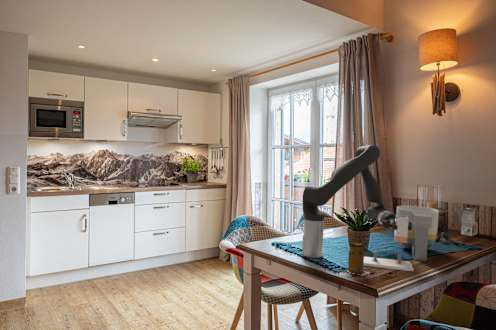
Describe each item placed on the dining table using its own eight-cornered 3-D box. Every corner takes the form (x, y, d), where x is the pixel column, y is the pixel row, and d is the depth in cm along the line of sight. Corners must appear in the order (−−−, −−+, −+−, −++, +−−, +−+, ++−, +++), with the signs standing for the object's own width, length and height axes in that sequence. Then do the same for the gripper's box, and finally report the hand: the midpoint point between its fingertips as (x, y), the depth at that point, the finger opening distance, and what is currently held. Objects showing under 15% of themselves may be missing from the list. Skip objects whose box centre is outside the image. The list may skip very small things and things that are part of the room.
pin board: (363, 265, 152) (364, 254, 152) (362, 258, 162) (363, 247, 162) (413, 271, 147) (414, 259, 147) (409, 264, 157) (409, 252, 156)
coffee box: (466, 232, 224) (467, 207, 223) (477, 234, 219) (479, 209, 218) (460, 234, 218) (462, 208, 217) (472, 236, 213) (473, 210, 212)
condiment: (351, 268, 149) (353, 240, 149) (370, 273, 143) (372, 244, 143) (343, 272, 144) (344, 243, 143) (363, 277, 138) (364, 248, 137)
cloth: (415, 239, 203) (416, 229, 203) (438, 237, 210) (439, 227, 210) (450, 250, 183) (451, 238, 182) (474, 247, 189) (475, 236, 189)
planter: (432, 257, 167) (435, 213, 166) (390, 249, 179) (392, 208, 178) (439, 249, 182) (441, 208, 181) (400, 242, 194) (402, 204, 193)
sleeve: (395, 241, 151) (396, 217, 150) (394, 239, 155) (395, 215, 155) (407, 243, 150) (408, 217, 149) (405, 240, 154) (406, 215, 154)
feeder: (412, 260, 162) (415, 215, 161) (409, 254, 171) (411, 212, 170) (429, 262, 160) (431, 217, 159) (425, 256, 169) (427, 213, 168)
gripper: (373, 211, 166) (387, 218, 150) (403, 212, 166) (420, 219, 149) (373, 226, 167) (386, 236, 150) (403, 227, 167) (419, 237, 150)
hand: (403, 227), depth 150 cm, fingers closed on sleeve, 5 cm apart
